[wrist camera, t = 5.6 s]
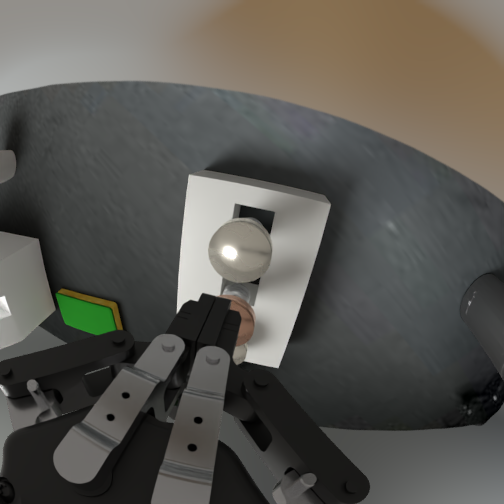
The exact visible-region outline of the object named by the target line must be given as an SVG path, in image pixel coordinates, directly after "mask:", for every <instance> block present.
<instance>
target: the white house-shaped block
mask: <svg viewBox="0 0 504 504" xmlns="http://www.w3.org/2000/svg"><path fill="white" fill-rule="evenodd" d="M55 310H56V308H55V305H54V302H53V298H52V295H51V291H50V288H49V284H48V280H47V276H46V272H45V268H44V263H43V259H42V254H41V248H40V243H39V239H36V238H31V237H26V236H21V235H16V234H11V233H6V232H2V231H0V349H1V348H4V347H7V346H10V345H12V344H15V343H17V342H20V341H22V340H24V338H26V337H27V336H28V335H29V334H30V333H31V332H32V331H33V330H34V329H35V328H36V327H37V326H38V325H39V324H40V323H42V322H43V321H44V320H45V319H46V318H47V317H48V316H49V315H50V314H51V313H53V312H54V311H55Z"/></svg>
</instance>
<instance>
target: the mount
mask: <svg viewBox="0 0 504 504" xmlns="http://www.w3.org/2000/svg"><path fill="white" fill-rule="evenodd" d="M241 205H245V206H250V207H255V208H259V209H264V210H269V211H273V212H275V215H274V220H273V224H272V229H271V233H270V234H269V235H270V237H271V240H272V245H273V251H272V257H271V263H270V266H269V268H268V269H267V271H266V272H265V273H264V274H263V275H262V276H261V278H260V282H259V285H256V284H252V283H240V284H243V285H244V286H246V287H247V288H248V289H249V291H250V295H251V296H250V301H249V305H250V306H251V307H252V308H253V310H254V312H255V316H256V321H255V327H254V332H253V335H252V337H251V339H250V340H249V341H248V349H247V354H246V358H245V360H244V361H246V362H250V363H255V364H260V365H265V366H270V367H275V368H278V367H279V365H280V362H281V360H282V357H283V354H284V351H285V349H286V346H287V343H288V341H289V338H290V335H291V332H292V329H293V327H294V324H295V321H296V318H297V315H298V312H299V309H300V306H301V303H302V300H303V297H304V294H305V291H306V288H307V285H308V282H309V279H310V275H311V272H312V269H313V266H314V263H315V259H316V256H317V253H318V249H319V246H320V242H321V239H322V235H323V232H324V228H325V225H326V221H327V217H328V214H329V210H330V206H331V204H330V202H329V201H328V199H327V198H326V197H325V195H322V194H318V193H314V192H310V191H306V190H302V189H298V188H293V187H289V186H285V185H280V184H276V183H271V182H266V181H261V180H257V179H252V178H247V177H241V176H236V175H231V174H225V173H220V172H214V171H208V170H202V171H199V172H196V173H193V174H190V175H189V179H188V186H187V194H186V203H185V211H184V221H183V231H182V241H181V253H180V266H179V281H178V299H177V313H178V312H179V310H180V308H181V307H182V305H183V304H184V303H186V302H187V301H189V300H194V301H198V300H199V298H200V296H201V294H202V293H206V294H210V295H214V296H219V295H223V292H224V290H225V288H226V287H227V286H228V285H229V284H232V283H237V282H232V281H229V280H227V279H225V278H223V277H222V276H221V275H219V274H218V273H217V272H216V271H215V269H214V268H213V267H212V265H211V263H210V260H209V256H208V246H209V242H210V240H211V238H212V236H213V235H214V233H215V232H216V231H217V230H218V228H219V227H220V226H221V225H222V224H224V223H225V222H227V221H229V220H231V219H235V218H239V214H240V208H241Z"/></svg>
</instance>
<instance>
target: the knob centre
mask: <svg viewBox="0 0 504 504" xmlns="http://www.w3.org/2000/svg"><path fill="white" fill-rule="evenodd" d="M250 296H251V295H250V291H249V289H248V288H247V287H246V286H244V285H243V284H240V283H232V284H229V285H228V286H227V287H226V288H225V290H224V292H223V295H219V297H223V298H227V299H231V300H232V301H231V307H230V310H235V311H239V312H240V315H241V318H242V320H241V325H240V330H239V334H238V339H237V343H236V347H237V346H240V345H243V344H245V343H246V342H248V341H249V340H250V339H251V337H252V335H253V332H254V327H255V321H256V316H255V312H254V310H253V308H252V307H251V306H250V305H249V301H250Z"/></svg>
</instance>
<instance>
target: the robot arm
mask: <svg viewBox="0 0 504 504" xmlns="http://www.w3.org/2000/svg"><path fill="white" fill-rule="evenodd" d="M231 301H232V300H231V299H227V298H223V297H219V296H214V295H210V294H206V293H202V294H201V296H200V298H199V300H198V301H194V300H189V301H187V302H186V303H184V304H183V305H182V307H181V308H180V310H179V312H178V313H177V315H176V317H175V318H174V320H173V321H172V323H171V325H170V326H169V328H168V330H167V331H166V333H165V334H162V335H159V336H157V337H156V338H155V339H154V340H153V341H152V342H138V341H134V337H133V336H132V334H130V333H129V332H127V331H124V330H114V331H110V332H107V333H103V334H100V335H96V336H93V337H90V338H86V339H83V340H79V341H76V342H72V343H68V344H65V345H61V346H57V347H54V348H50V349H47V350H43V351H39V352H35V353H31V354H28V355H23V356H19V357H15V358H11V359H7V360H3V361H1V362H0V388H1V389H2V391H3V393H4V395H5V396H6V398H7V404H8V409H9V413H10V418H11V422H12V426H13V429H14V432H12V433H11V434H10V435H9V436H8V438H7V439H6V441H5V444H4V447H3V464H2V469H1V473H0V504H269V502H268V501H267V500H266V498H265V497H264V495H263V494H262V493H261V491H260V490H259V488H258V487H257V485H256V484H255V482H254V481H253V479H252V478H251V476H250V475H249V473H248V471H247V470H246V468H245V467H244V465H243V464H242V462H241V461H240V459H239V458H238V456H237V455H236V454H235V452H234V451H233V450H232V449H231V448H229V447H228V446H227V445H226V444H224V443H223V442H221V441H220V440H218V438H219V431H220V425H221V418H222V412H223V411H225V412H227V413H229V414H231V415H233V416H234V420H235V422H236V423H237V424H238V426H239V428H240V429H241V431H242V432H243V434H244V435H245V437H246V438H247V440H248V441H249V443H250V444H251V445H252V447H253V448H254V450H255V451H256V452H257V454H258V455H259V457H260V458H261V459H262V461H263V462H264V463H265V465H266V466H267V467H268V469H269V470H270V471H271V473H272V474H273V475H274V476H275V478H276V479H277V480H278V483H277V484H276V485H275V486H274V488H273V497H274V499H275V501H276V503H277V504H357V503H358V502H360V501H362V500H363V499H364V498H366V496H367V495H368V493H369V490H370V484H369V480H368V479H367V477H366V476H365V475H364V474H363V473H362V472H361V471H360V470H359V469H358V468H357V467H356V466H355V465H354V464H353V463H352V462H351V461H350V460H349V459H348V458H347V457H346V456H345V455H344V454H343V453H342V452H341V450H340V449H338V447H337V446H336V445H335V444H334V443H333V442H332V441H331V440H330V439H329V438H328V437H327V436H326V434H325V433H324V432H322V430H321V429H320V428H319V427H318V426H317V425H316V423H315V422H314V421H313V420H312V419H311V418H310V417H309V416H308V414H307V413H306V412H305V411H304V410H303V409H302V408H301V406H300V405H299V404H298V403H297V402H296V401H295V399H294V398H293V397H292V396H291V395H290V394H289V392H288V391H287V390H286V389H285V388H284V387H283V385H282V384H281V383H280V382H279V381H278V379H277V378H276V377H275V376H274V375H273V374H272V373H270V372H268V371H265V370H260V369H257V370H252V371H249V372H247V371H245V370H243V369H242V368H240V367H239V366H238V365H237V364H236V363H235V362H234V360H233V355H234V351H235V347H236V343H237V339H238V334H239V330H240V325H241V320H242V318H241V315H240V312H239V311H235V310H230V307H231ZM460 314H461V318H462V319H463V321H464V322H465V323H466V325H467V326H468V327H469V329H470V330H471V331H472V333H473V334H474V336H475V337H476V339H477V340H478V342H479V343H480V344H481V346H482V347H483V349H484V350H485V352H486V353H487V355H488V356H489V358H490V359H491V361H492V362H493V364H494V366H495V367H496V369H497V370H498V372H499V374H500V375H501V377H502V378H503V380H504V283H503V282H502V281H500V280H499V279H498V278H497V277H496V276H495V275H493V274H486V275H483V276H481V277H479V278H478V279H477V280H476V281H475V282H474V283H473V284H472V285H471V286H470V287H469V289H468V290H467V292H466V293H465V295H464V298H463V300H462V303H461V308H460ZM107 366H109V368H106V369H103V370H100V371H97V372H94V373H91V374H88V375H85V374H86V373H88V372H91V371H94V370H97V369H101V368H104V367H107ZM187 375H189V376H190V378H189V382H188V385H187V388H185V389H184V391H183V394H182V397H181V400H180V404H179V407H178V411H177V414H176V418H175V421H174V423H168V422H167V418H168V416H169V414H170V412H171V410H172V408H173V406H174V404H175V402H176V400H177V399H178V397H179V395H180V393H181V391H182V389H183V386H184V382H185V379H186V377H187ZM78 409H79V410H78ZM75 410H76V411H75ZM72 411H73V412H72ZM69 412H71V413H69ZM65 413H68V414H65ZM62 414H65V415H62Z"/></svg>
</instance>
